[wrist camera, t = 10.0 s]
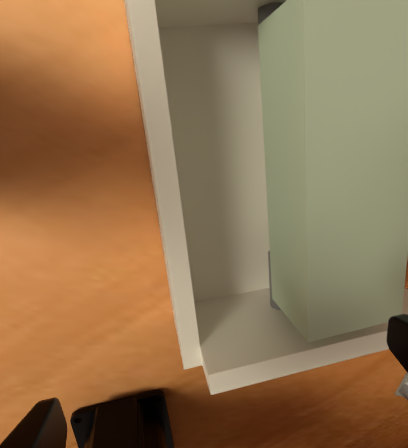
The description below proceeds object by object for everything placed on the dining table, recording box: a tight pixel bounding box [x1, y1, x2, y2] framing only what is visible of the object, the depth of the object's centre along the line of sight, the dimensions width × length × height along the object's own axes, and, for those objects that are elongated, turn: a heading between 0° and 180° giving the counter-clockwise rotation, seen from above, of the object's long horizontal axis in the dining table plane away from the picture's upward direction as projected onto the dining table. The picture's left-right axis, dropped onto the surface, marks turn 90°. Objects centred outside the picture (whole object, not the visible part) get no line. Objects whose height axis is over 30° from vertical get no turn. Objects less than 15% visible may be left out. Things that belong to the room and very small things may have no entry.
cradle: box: [124, 0, 408, 395], centre depth 16 cm, size 18×14×7 cm
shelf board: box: [258, 0, 408, 342], centre depth 14 cm, size 14×5×4 cm, turn 7°
